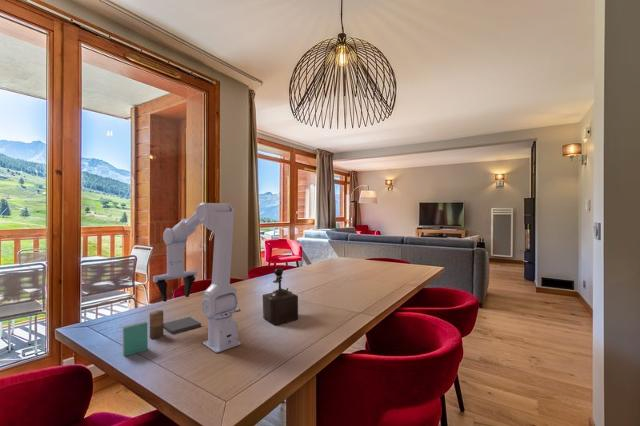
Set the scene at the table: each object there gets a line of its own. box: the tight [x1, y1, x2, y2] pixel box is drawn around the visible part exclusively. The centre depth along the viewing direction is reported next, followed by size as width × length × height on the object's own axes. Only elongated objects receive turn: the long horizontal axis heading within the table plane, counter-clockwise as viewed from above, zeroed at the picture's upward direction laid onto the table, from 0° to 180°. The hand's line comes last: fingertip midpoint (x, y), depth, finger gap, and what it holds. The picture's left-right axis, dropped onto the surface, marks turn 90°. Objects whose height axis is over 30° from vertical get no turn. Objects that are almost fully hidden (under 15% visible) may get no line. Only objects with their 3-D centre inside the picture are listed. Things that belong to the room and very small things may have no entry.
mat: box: [163, 316, 202, 335], centre depth 107 cm, size 10×10×1 cm
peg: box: [149, 309, 164, 340], centre depth 98 cm, size 4×4×8 cm
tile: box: [122, 321, 149, 357], centre depth 87 cm, size 2×6×8 cm, turn 136°
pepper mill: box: [262, 267, 299, 327], centre depth 115 cm, size 16×11×18 cm
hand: (176, 298), depth 107 cm, fingers open, 7 cm apart
